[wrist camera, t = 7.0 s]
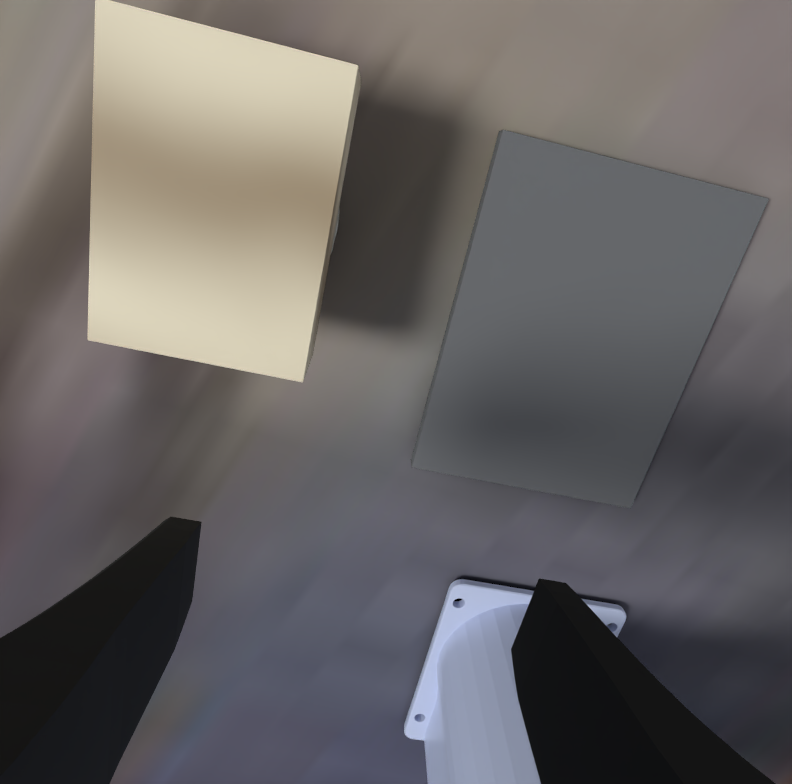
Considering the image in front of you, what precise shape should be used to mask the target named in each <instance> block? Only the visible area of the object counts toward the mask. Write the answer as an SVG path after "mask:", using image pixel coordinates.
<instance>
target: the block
mask: <svg viewBox="0 0 792 784" xmlns="http://www.w3.org/2000/svg"><path fill="white" fill-rule="evenodd" d="M360 86H361V77H360V72H359V67H358V65H355V64H351V63H347V62H344V61H340V60H336V59H332V58H328V57H324V56H321V55H317V54H313V53H309V52H305V51H301V50H298V49H294V48H290V47H286V46H282V45H278V44H275V43H271V42H267V41H263V40H259V39H255V38H252V37H248V36H244V35H240V34H236V33H232V32H229V31H225V30H221V29H217V28H213V27H209V26H206V25H202V24H198V23H194V22H190V21H186V20H183V19H179V18H175V17H171V16H167V15H163V14H160V13H156V12H152V11H148V10H144V9H140V8H137V7H133V6H129V5H125V4H121V3H118V2H114V1H110V0H95V39H94V83H93V126H92V170H91V213H90V257H89V300H88V340H90V341H95V342H100V343H105V344H110V345H115V346H120V347H125V348H130V349H135V350H141V351H146V352H151V353H156V354H161V355H166V356H171V357H176V358H181V359H186V360H192V361H197V362H202V363H207V364H212V365H217V366H222V367H227V368H232V369H237V370H243V371H248V372H253V373H258V374H263V375H268V376H273V377H278V378H283V379H288V380H294V381H299V382H303V381H304V378H305V375H306V372H307V369H308V367H309V364H310V361H311V358H312V355H313V351H314V345H315V339H316V334H317V328H318V323H319V317H320V311H321V306H322V300H323V294H324V289H325V283H326V278H327V272H328V266H329V261H330V255H331V249H332V244H333V238H334V233H335V227H336V221H337V216H338V210H339V205H340V199H341V193H342V188H343V182H344V176H345V171H346V165H347V160H348V154H349V148H350V143H351V137H352V131H353V126H354V120H355V115H356V109H357V103H358V98H359V92H360Z"/></svg>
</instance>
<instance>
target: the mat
mask: <svg viewBox="0 0 792 784" xmlns="http://www.w3.org/2000/svg"><path fill="white" fill-rule="evenodd" d="M768 200H769V199H768V198H764V197H761V196H757V195H753V194H749V193H745V192H741V191H737V190H734V189H730V188H726V187H722V186H718V185H714V184H710V183H707V182H703V181H699V180H695V179H691V178H687V177H683V176H680V175H676V174H672V173H668V172H664V171H660V170H656V169H653V168H649V167H645V166H641V165H637V164H633V163H629V162H626V161H622V160H618V159H614V158H610V157H606V156H602V155H599V154H595V153H591V152H587V151H583V150H579V149H575V148H572V147H568V146H564V145H560V144H556V143H552V142H548V141H545V140H541V139H537V138H533V137H529V136H525V135H521V134H518V133H514V132H510V131H506V130H501V131H499V133H498V137H497V141H496V145H495V148H494V152H493V156H492V160H491V163H490V167H489V171H488V174H487V178H486V182H485V186H484V189H483V193H482V197H481V201H480V204H479V208H478V212H477V215H476V219H475V223H474V227H473V230H472V234H471V238H470V242H469V245H468V249H467V253H466V257H465V260H464V264H463V268H462V271H461V275H460V279H459V283H458V286H457V290H456V294H455V298H454V301H453V305H452V309H451V312H450V316H449V320H448V324H447V327H446V331H445V335H444V339H443V342H442V346H441V350H440V353H439V357H438V361H437V365H436V368H435V372H434V376H433V380H432V383H431V387H430V391H429V395H428V398H427V402H426V406H425V409H424V413H423V417H422V421H421V424H420V428H419V432H418V436H417V439H416V443H415V447H414V450H413V454H412V458H411V465H412V468H416V469H421V470H426V471H432V472H437V473H443V474H448V475H453V476H459V477H464V478H469V479H475V480H480V481H486V482H491V483H496V484H502V485H507V486H512V487H518V488H523V489H529V490H534V491H539V492H545V493H550V494H555V495H561V496H566V497H572V498H577V499H582V500H588V501H593V502H598V503H604V504H609V505H615V506H620V507H625V508H631V506H632V504H633V502H634V500H635V497H636V495H637V493H638V491H639V488H640V486H641V484H642V482H643V480H644V477H645V475H646V473H647V471H648V468H649V466H650V464H651V462H652V459H653V457H654V455H655V453H656V450H657V448H658V446H659V444H660V441H661V439H662V437H663V435H664V433H665V430H666V428H667V426H668V424H669V421H670V419H671V417H672V415H673V412H674V410H675V408H676V406H677V403H678V401H679V399H680V397H681V394H682V392H683V390H684V388H685V386H686V383H687V381H688V379H689V377H690V374H691V372H692V370H693V368H694V365H695V363H696V361H697V359H698V356H699V354H700V352H701V350H702V347H703V345H704V343H705V341H706V339H707V336H708V334H709V332H710V330H711V327H712V325H713V323H714V321H715V318H716V316H717V314H718V312H719V309H720V307H721V305H722V303H723V300H724V298H725V296H726V294H727V292H728V289H729V287H730V285H731V283H732V280H733V278H734V276H735V274H736V271H737V269H738V267H739V265H740V262H741V260H742V258H743V256H744V253H745V251H746V249H747V247H748V245H749V242H750V240H751V238H752V236H753V233H754V231H755V229H756V227H757V224H758V222H759V220H760V218H761V215H762V213H763V211H764V209H765V206H766V204H767V202H768Z"/></svg>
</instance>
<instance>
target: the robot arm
mask: <svg viewBox="0 0 792 784" xmlns="http://www.w3.org/2000/svg"><path fill="white" fill-rule="evenodd" d="M200 530H201V522H199V521H193V520H187V519H181V518H176V517H170V518H168V519H166V520H165V521H163V522H162V523H161V524H160V525H159V526H157V527H156V528H155V529H154V530H153V531H152V532H150V533H149V534H148V535H147V536H146V537H144V538H143V539H142V540H141V541H139V542H138V543H137V544H136V545H135V546H133V547H132V548H131V549H130V550H128V551H127V552H126V553H125V554H123V555H122V556H121V557H119V558H118V559H117V560H115V561H114V562H113V563H112V564H110V565H109V566H108V567H106V568H105V569H104V570H102V571H101V572H100V573H98V574H97V575H96V576H94V577H93V578H92V579H90V580H89V581H88V582H86V583H85V584H83V585H82V586H81V587H79V588H78V589H76V590H75V591H73V592H72V593H70V594H69V595H67V596H66V597H64V598H63V599H62V600H60V601H59V602H57V603H56V604H54V605H53V606H51V607H50V608H48V609H47V610H45V611H44V612H42V613H41V614H39V615H38V616H36V617H34V618H33V619H31V620H30V621H28V622H27V623H25V624H23V625H22V626H20V627H18V628H17V629H15V630H13V631H12V632H10V633H8V634H7V635H5V636H3V637H1V638H0V784H109V783H110V781H111V779H112V777H113V775H114V772H115V770H116V768H117V766H118V763H119V761H120V759H121V757H122V755H123V753H124V751H125V749H126V747H127V745H128V743H129V741H130V739H131V737H132V735H133V733H134V731H135V729H136V727H137V725H138V723H139V721H140V719H141V717H142V715H143V713H144V711H145V709H146V707H147V705H148V703H149V701H150V699H151V696H152V694H153V692H154V690H155V688H156V686H157V684H158V682H159V680H160V678H161V676H162V674H163V672H164V670H165V668H166V666H167V664H168V662H169V660H170V658H171V656H172V653H173V651H174V649H175V647H176V644H177V641H178V639H179V636H180V633H181V631H182V628H183V625H184V622H185V619H186V617H187V614H188V611H189V608H190V605H191V602H192V597H193V589H194V581H195V572H196V564H197V555H198V547H199V538H200ZM458 598H461V599H462V600H461V601H454V600H455V599H458ZM626 617H627V616H626V613H625V611H624V609H623V608H622V607H621V606H619V605H617V604H611V603H605V602H599V601H593V600H586V599H581V598H580V597H579V596H578V595H577V594H576V593H575V592H574V591H573V590H572V589H571V588H570V587H569V586H568V585H567V584H566V583H562V582H557V581H551V580H545V579H539V580H538V583H537V585H536V588H535V590H534V591H532V590H526V589H520V588H514V587H508V586H502V585H496V584H490V583H484V582H478V581H471V580H465V579H458V580H455V581H454V582H452V583H451V585H450V587H449V590H448V593H447V596H446V599H445V602H444V605H443V608H442V611H441V614H440V617H439V620H438V623H437V626H436V629H435V632H434V635H433V638H432V642H431V645H430V648H429V651H428V654H427V657H426V660H425V663H424V666H423V669H422V672H421V675H420V678H419V681H418V684H417V687H416V690H415V693H414V697H413V700H412V703H411V706H410V709H409V712H408V715H407V718H406V721H405V724H404V732H405V735H406V736H407V737H409V738H411V739H417V740H424V742H425V755H426V767H427V779H428V784H775V783H774V782H773V781H771V780H770V779H769V778H768V777H766V776H765V775H764V774H762V773H761V772H760V771H758V770H757V769H756V768H755V767H754V766H752V765H751V764H750V763H749V762H747V761H746V760H745V759H744V758H742V757H741V756H740V755H739V754H738V753H736V752H735V751H734V750H733V749H732V748H731V747H730V746H728V745H727V744H726V743H725V742H724V741H723V740H721V739H720V738H719V737H718V736H717V735H716V734H715V733H713V732H712V731H711V730H710V729H709V728H708V727H706V726H705V725H704V724H703V723H702V722H701V721H700V720H699V719H698V718H696V717H695V716H694V715H693V714H692V713H691V712H690V711H689V710H688V709H687V708H686V707H685V706H684V705H683V704H682V703H681V702H679V701H678V700H677V699H676V698H675V697H674V696H673V695H672V694H671V693H670V692H669V691H668V690H667V689H666V688H665V687H664V686H663V685H662V684H661V683H660V682H659V681H658V680H657V679H656V678H655V677H654V676H653V675H652V674H651V673H650V672H649V671H648V670H647V669H646V668H645V667H644V666H643V665H642V664H641V663H640V662H639V660H638V659H637V658H636V657H635V656H634V655H633V654H632V653H631V652H630V651H629V650H628V649H627V648H626V647H625V646H624V645H623V643H622V642H621V641H620V640H619V639H618V638H617V637H618V635H619V633H620V631H621V629H622V627H623V625H624V623H625V620H626ZM610 623H612V624H611V625H608V624H610Z"/></svg>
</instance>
